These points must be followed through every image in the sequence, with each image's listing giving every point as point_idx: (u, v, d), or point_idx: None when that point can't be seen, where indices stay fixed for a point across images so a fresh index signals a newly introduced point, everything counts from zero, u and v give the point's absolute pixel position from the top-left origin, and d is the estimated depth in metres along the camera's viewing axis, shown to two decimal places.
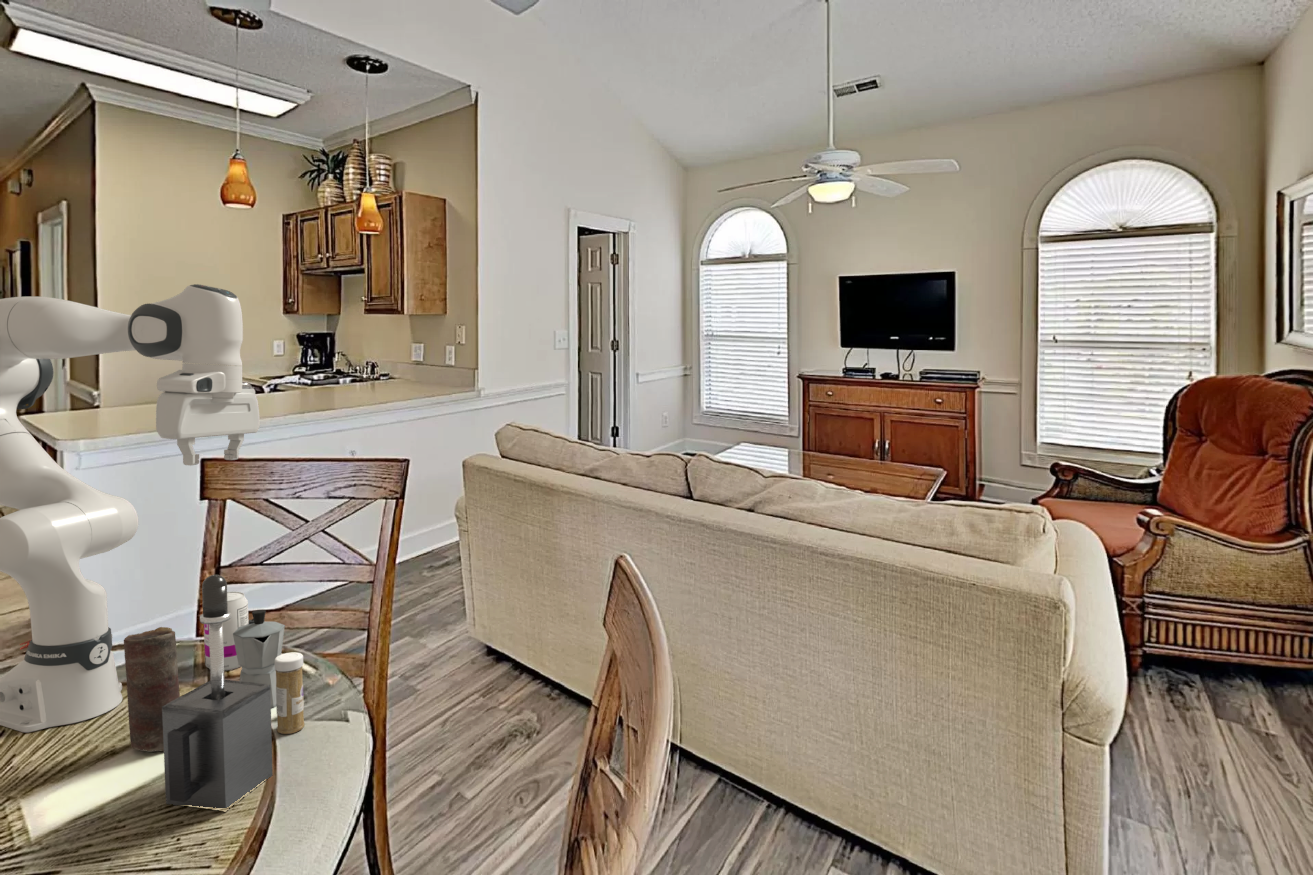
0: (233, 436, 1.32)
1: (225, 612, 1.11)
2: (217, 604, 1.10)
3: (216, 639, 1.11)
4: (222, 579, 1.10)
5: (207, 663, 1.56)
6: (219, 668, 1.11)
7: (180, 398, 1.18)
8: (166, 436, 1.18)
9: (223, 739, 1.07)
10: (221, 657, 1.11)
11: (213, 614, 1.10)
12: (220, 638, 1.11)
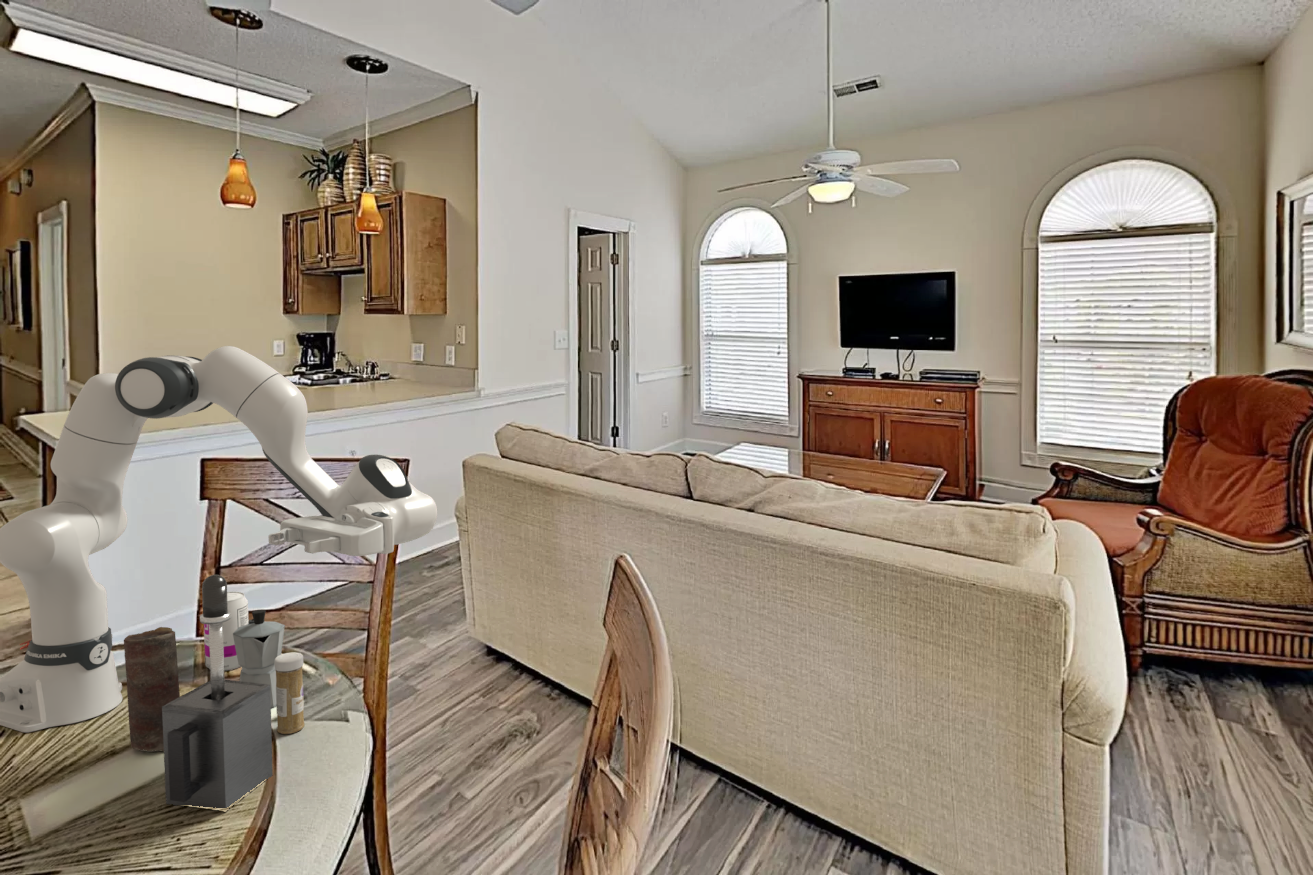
0: (292, 535, 1.27)
1: (225, 612, 1.11)
2: (217, 604, 1.10)
3: (216, 639, 1.11)
4: (222, 579, 1.10)
5: (207, 663, 1.56)
6: (219, 668, 1.11)
7: (383, 547, 1.26)
8: (355, 545, 1.20)
9: (223, 739, 1.07)
10: (221, 657, 1.11)
11: (213, 614, 1.10)
12: (220, 638, 1.11)
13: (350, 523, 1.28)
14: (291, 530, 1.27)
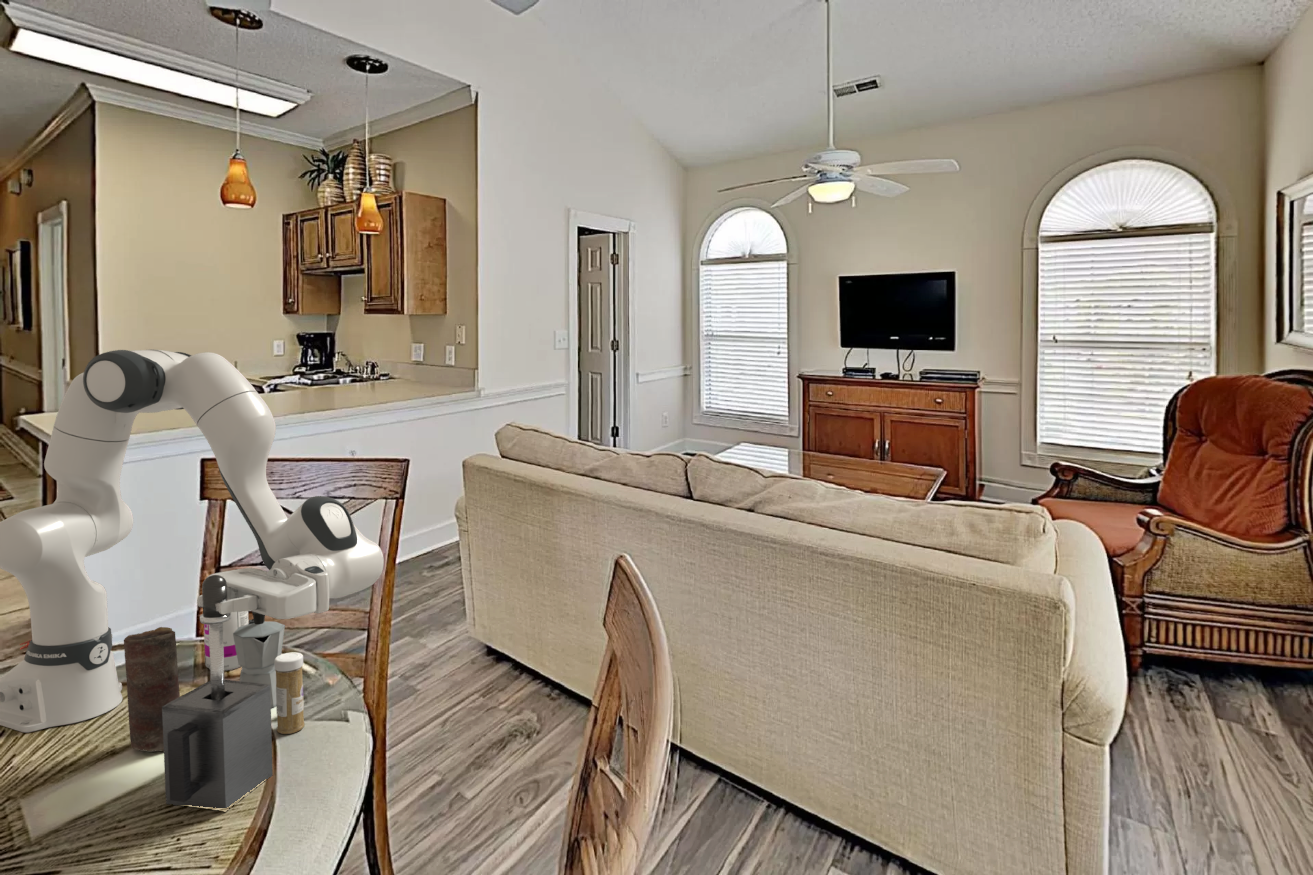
0: None
1: None
2: None
3: (216, 639, 1.11)
4: (222, 579, 1.10)
5: (207, 663, 1.56)
6: (219, 668, 1.11)
7: (315, 606, 1.16)
8: (281, 608, 1.10)
9: (223, 739, 1.07)
10: (221, 657, 1.11)
11: (213, 614, 1.10)
12: (220, 638, 1.11)
13: (281, 579, 1.18)
14: None
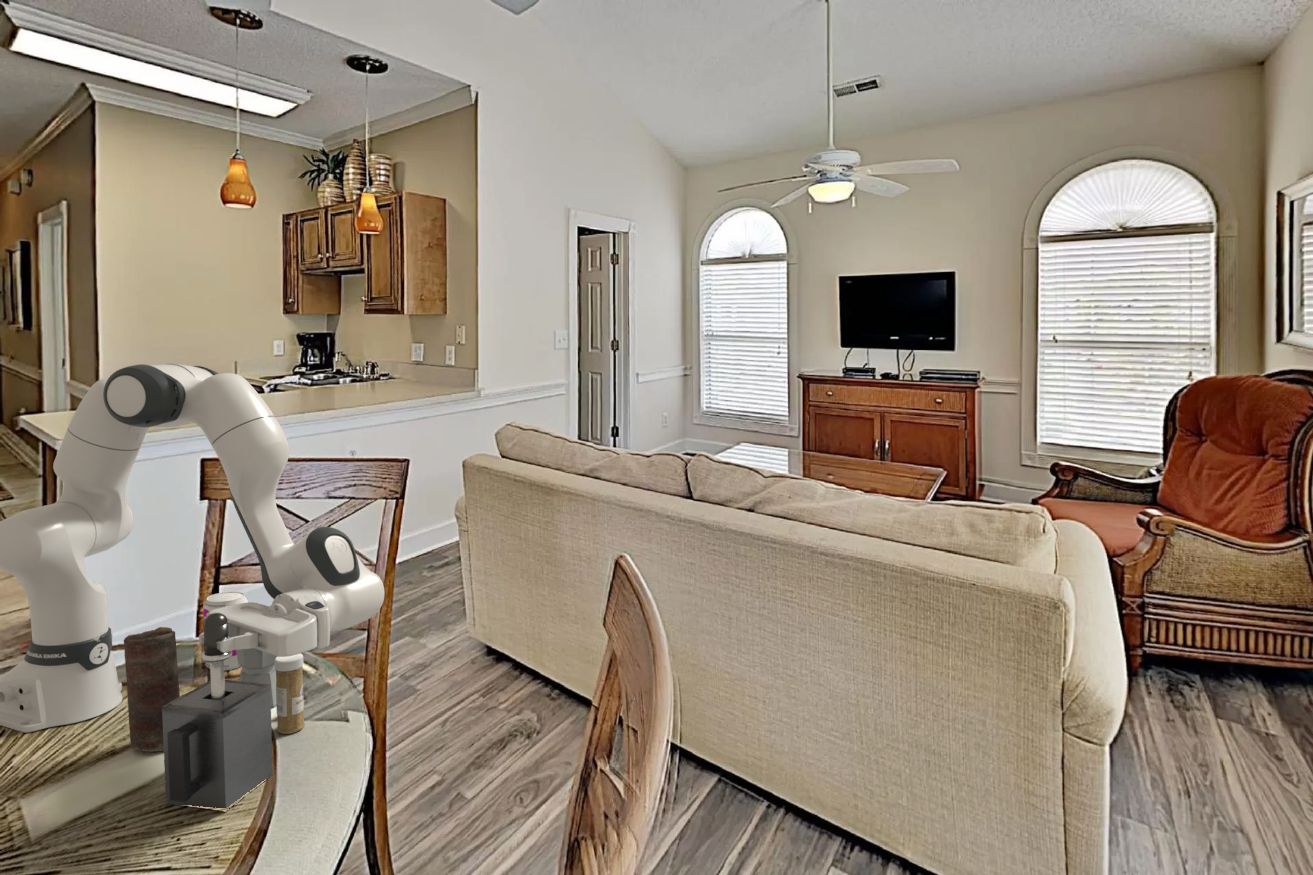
0: None
1: None
2: None
3: (217, 677, 1.11)
4: (223, 617, 1.11)
5: (207, 663, 1.56)
6: None
7: (316, 642, 1.16)
8: (282, 646, 1.10)
9: (223, 739, 1.07)
10: (222, 694, 1.12)
11: (214, 652, 1.10)
12: (221, 676, 1.12)
13: (282, 615, 1.18)
14: None
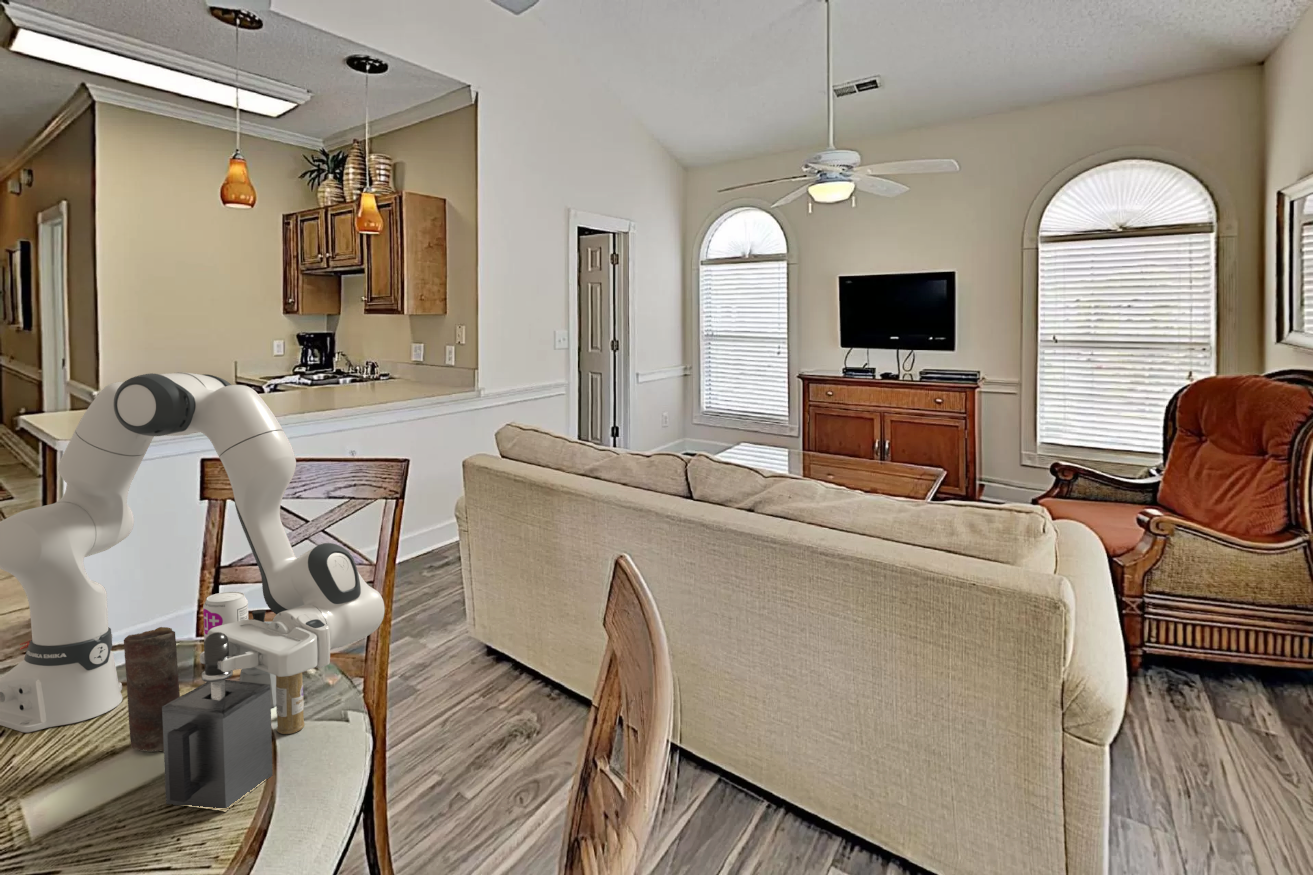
0: None
1: None
2: None
3: (218, 696, 1.12)
4: (224, 637, 1.11)
5: None
6: None
7: (316, 661, 1.16)
8: (283, 665, 1.11)
9: (223, 739, 1.07)
10: None
11: (215, 672, 1.10)
12: (222, 695, 1.12)
13: (282, 633, 1.19)
14: None
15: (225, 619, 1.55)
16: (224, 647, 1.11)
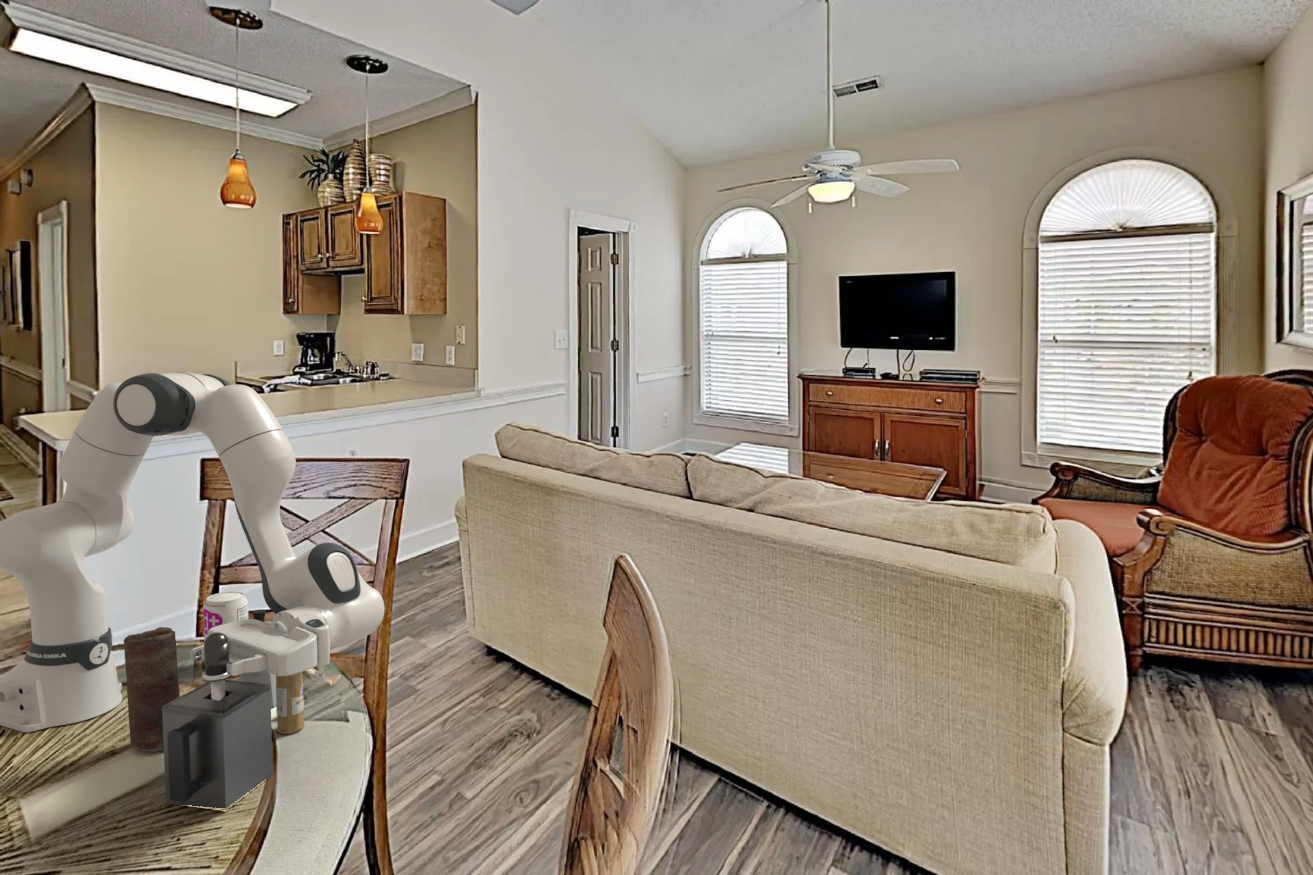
0: None
1: None
2: (219, 662, 1.11)
3: (218, 696, 1.12)
4: (224, 637, 1.11)
5: None
6: None
7: (316, 661, 1.16)
8: (282, 665, 1.11)
9: (223, 739, 1.07)
10: None
11: (215, 672, 1.10)
12: (222, 695, 1.12)
13: (282, 633, 1.19)
14: None
15: (225, 619, 1.55)
16: (224, 647, 1.11)
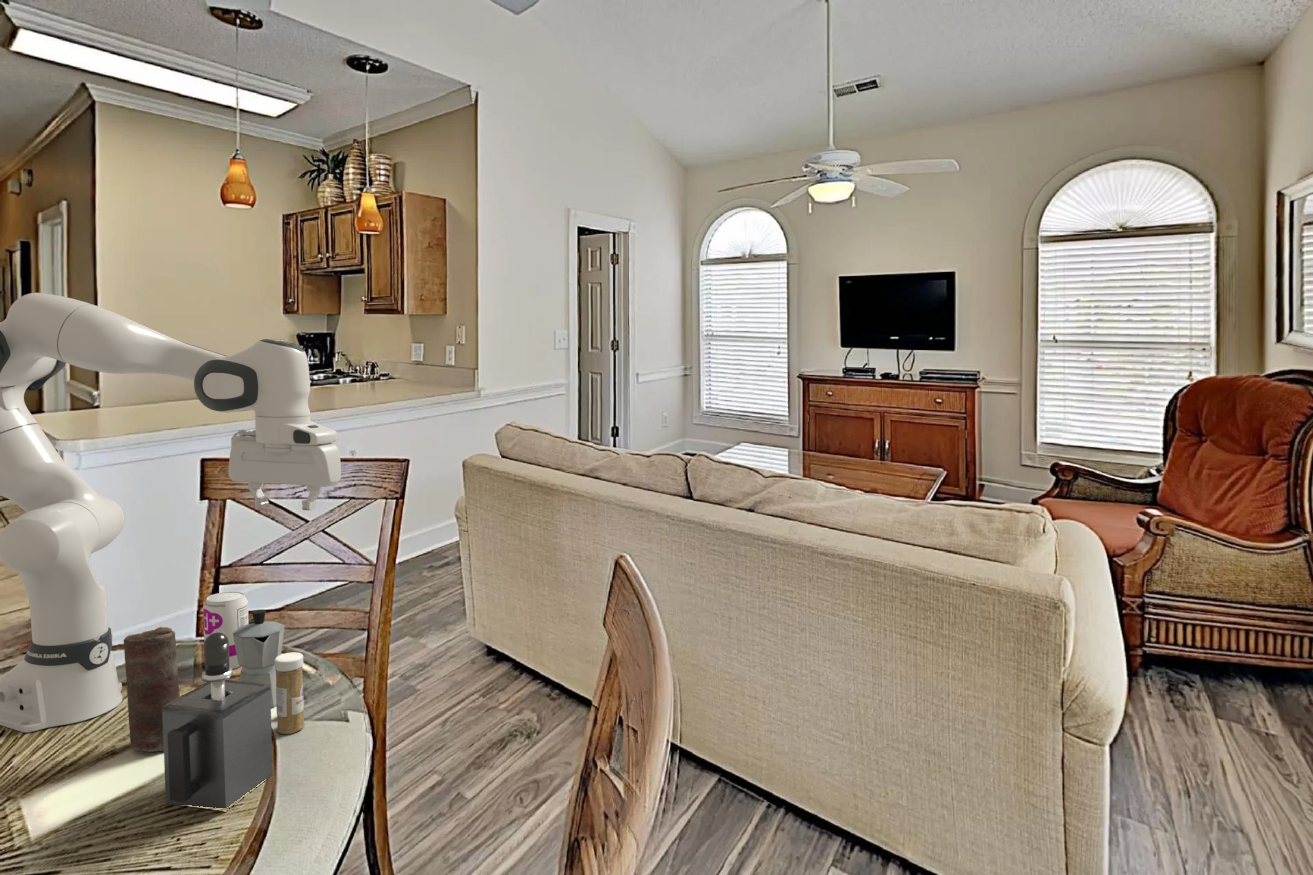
0: (259, 484, 1.34)
1: (227, 669, 1.12)
2: (219, 662, 1.11)
3: (218, 696, 1.12)
4: (224, 637, 1.11)
5: None
6: None
7: (335, 447, 1.32)
8: (334, 483, 1.31)
9: (223, 739, 1.07)
10: None
11: (215, 672, 1.10)
12: (222, 695, 1.12)
13: (287, 453, 1.30)
14: (255, 485, 1.33)
15: (224, 619, 1.55)
16: (224, 647, 1.11)
